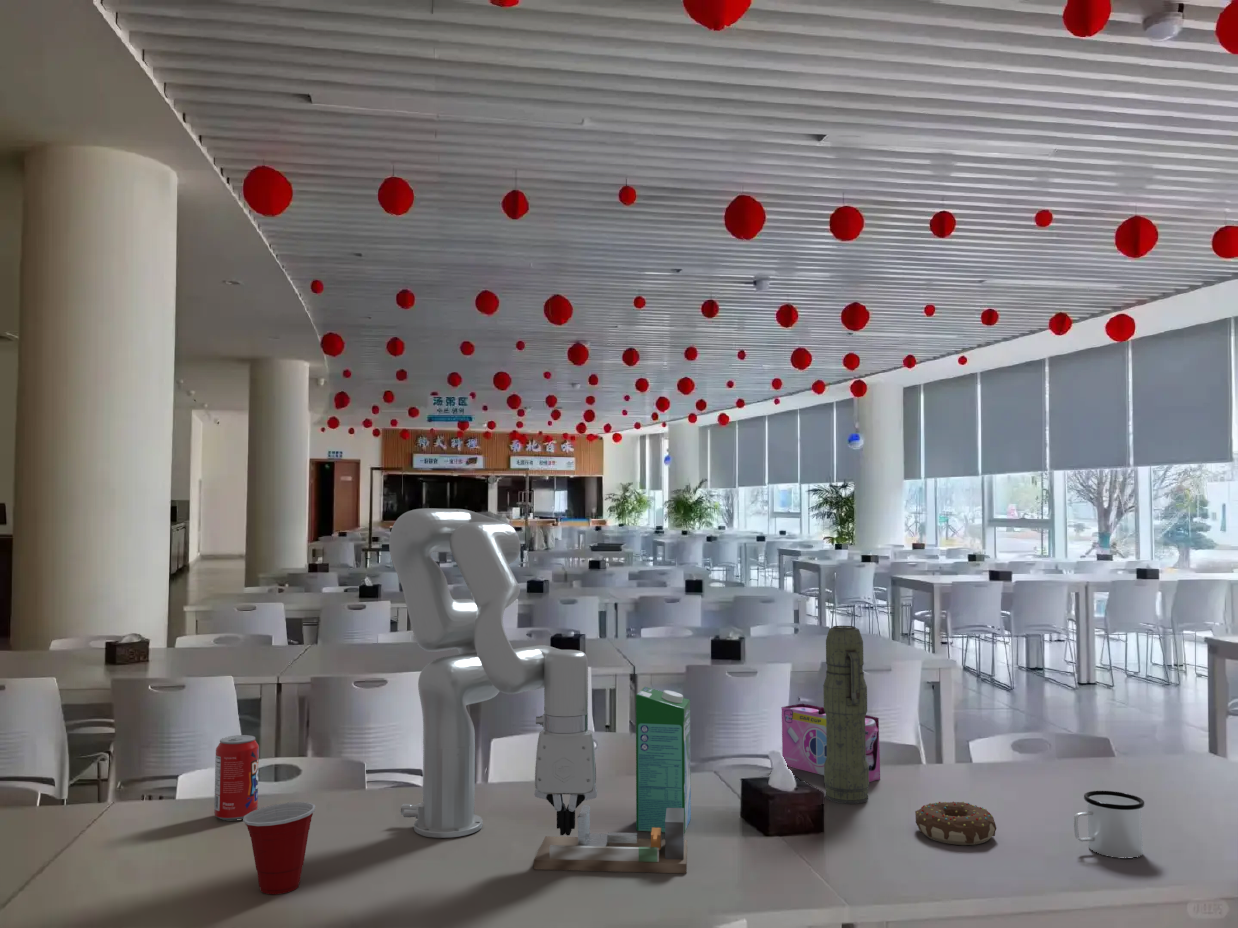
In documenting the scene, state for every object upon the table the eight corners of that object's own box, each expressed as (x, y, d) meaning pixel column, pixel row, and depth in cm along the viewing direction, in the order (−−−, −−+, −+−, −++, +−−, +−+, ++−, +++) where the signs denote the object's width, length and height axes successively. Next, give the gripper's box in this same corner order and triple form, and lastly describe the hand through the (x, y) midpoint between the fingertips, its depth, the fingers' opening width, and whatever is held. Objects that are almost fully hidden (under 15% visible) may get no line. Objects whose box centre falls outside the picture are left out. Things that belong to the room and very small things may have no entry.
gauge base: (533, 869, 159) (534, 822, 160) (545, 845, 171) (545, 801, 172) (686, 873, 157) (686, 826, 158) (687, 848, 169) (686, 804, 170)
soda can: (204, 820, 186) (206, 740, 187) (235, 808, 193) (236, 732, 194) (236, 824, 183) (238, 744, 184) (266, 813, 190) (267, 735, 191)
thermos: (851, 788, 207) (849, 623, 210) (880, 803, 196) (877, 629, 198) (814, 791, 205) (811, 624, 207) (840, 807, 194) (838, 630, 196)
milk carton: (684, 834, 177) (683, 695, 179) (636, 831, 179) (635, 693, 181) (690, 819, 186) (690, 687, 188) (644, 816, 188) (644, 685, 189)
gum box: (886, 780, 214) (885, 718, 214) (864, 787, 209) (863, 723, 210) (803, 760, 232) (802, 702, 233) (780, 765, 228) (780, 706, 228)
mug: (1123, 841, 173) (1121, 789, 173) (1159, 859, 164) (1157, 804, 164) (1060, 844, 172) (1058, 791, 172) (1092, 862, 162) (1090, 807, 163)
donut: (1007, 835, 177) (1007, 807, 177) (977, 854, 167) (976, 824, 167) (933, 819, 186) (932, 792, 187) (899, 836, 176) (899, 808, 177)
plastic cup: (252, 876, 157) (254, 800, 157) (321, 874, 157) (322, 798, 158) (231, 902, 146) (233, 821, 146) (305, 900, 147) (306, 819, 147)
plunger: (578, 854, 161) (578, 817, 162) (582, 840, 168) (582, 805, 169) (635, 855, 161) (635, 818, 161) (638, 841, 168) (638, 806, 168)
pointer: (650, 856, 159) (650, 838, 159) (652, 841, 166) (652, 825, 166) (659, 856, 159) (659, 839, 159) (661, 842, 166) (661, 825, 166)
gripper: (519, 727, 163) (518, 839, 162) (607, 728, 162) (607, 841, 161) (526, 718, 171) (526, 825, 170) (611, 719, 169) (611, 827, 168)
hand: (565, 832), depth 165 cm, fingers closed
